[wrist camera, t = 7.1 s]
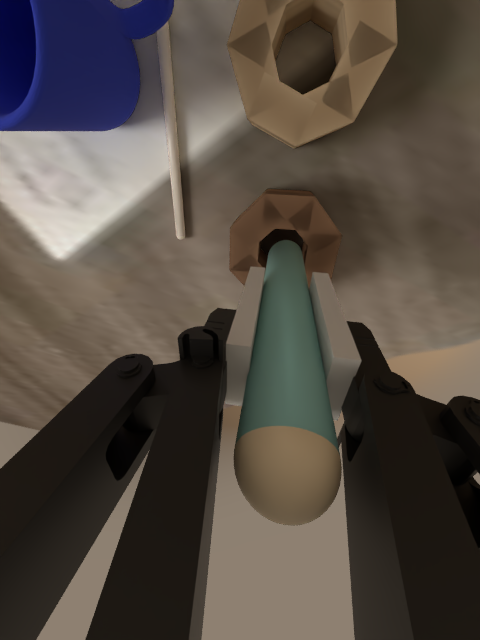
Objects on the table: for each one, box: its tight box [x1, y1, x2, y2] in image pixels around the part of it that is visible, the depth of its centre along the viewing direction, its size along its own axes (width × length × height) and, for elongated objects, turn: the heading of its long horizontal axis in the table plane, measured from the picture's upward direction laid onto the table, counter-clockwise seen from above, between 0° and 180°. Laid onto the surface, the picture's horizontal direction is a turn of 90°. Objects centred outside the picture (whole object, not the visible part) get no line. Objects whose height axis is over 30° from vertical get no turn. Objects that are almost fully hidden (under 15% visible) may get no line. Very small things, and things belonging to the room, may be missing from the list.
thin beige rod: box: [156, 21, 185, 240], centre depth 19 cm, size 15×1×1 cm, turn 178°
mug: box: [0, 0, 174, 131], centre depth 13 cm, size 8×12×10 cm
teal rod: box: [234, 240, 341, 525], centre depth 12 cm, size 2×2×16 cm
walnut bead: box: [230, 189, 342, 288], centre depth 20 cm, size 8×8×4 cm
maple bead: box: [227, 0, 397, 149], centre depth 14 cm, size 8×8×4 cm
